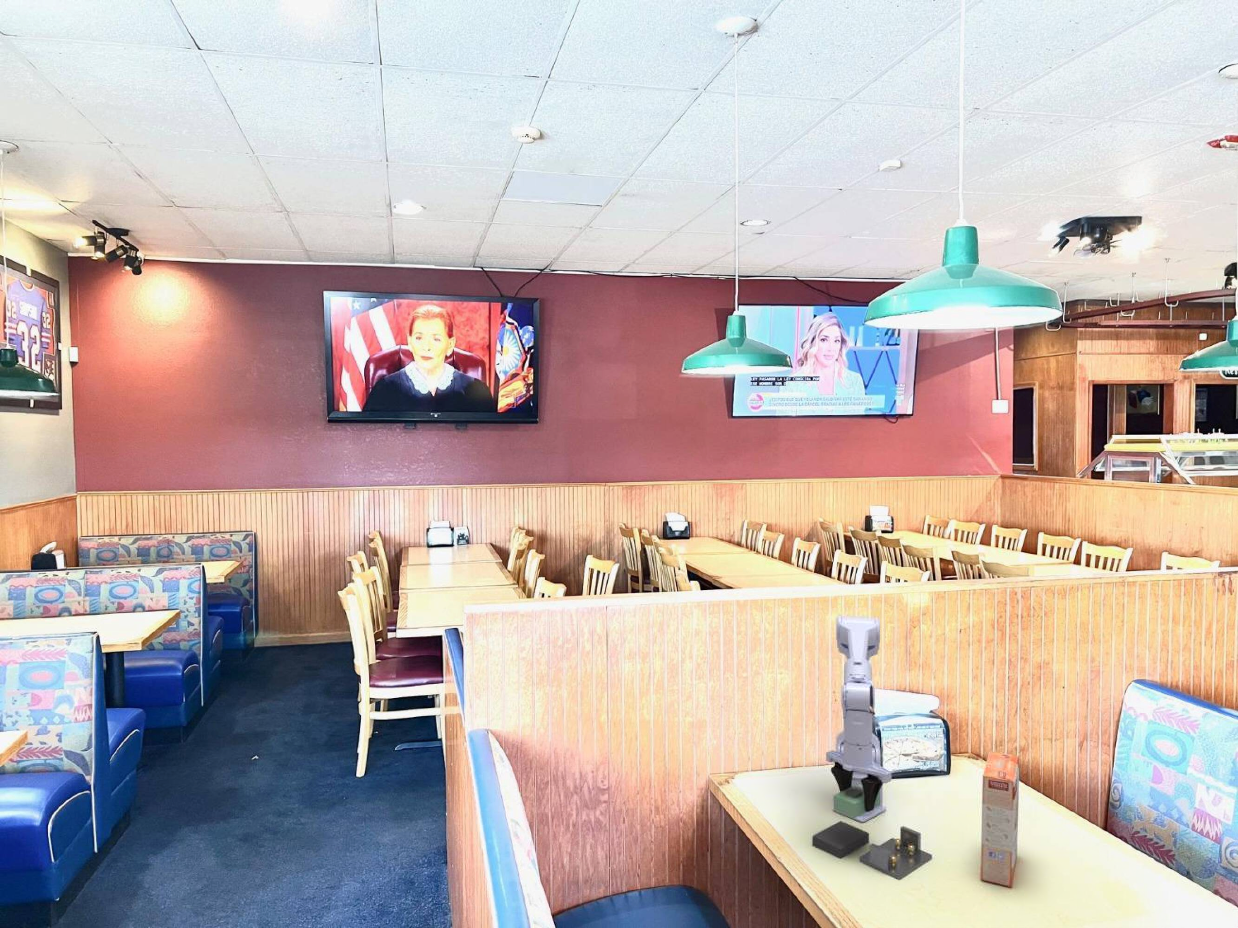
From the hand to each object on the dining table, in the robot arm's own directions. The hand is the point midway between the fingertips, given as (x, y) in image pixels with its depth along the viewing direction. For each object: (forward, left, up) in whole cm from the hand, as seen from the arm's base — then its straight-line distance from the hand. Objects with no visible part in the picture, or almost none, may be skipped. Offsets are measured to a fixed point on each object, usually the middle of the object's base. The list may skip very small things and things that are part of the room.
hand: (857, 805), depth 167 cm
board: (0, 0, 0) cm, 0 cm away
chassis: (-2, +7, -9) cm, 12 cm away
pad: (+1, -4, -9) cm, 10 cm away
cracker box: (-15, +22, -10) cm, 29 cm away
